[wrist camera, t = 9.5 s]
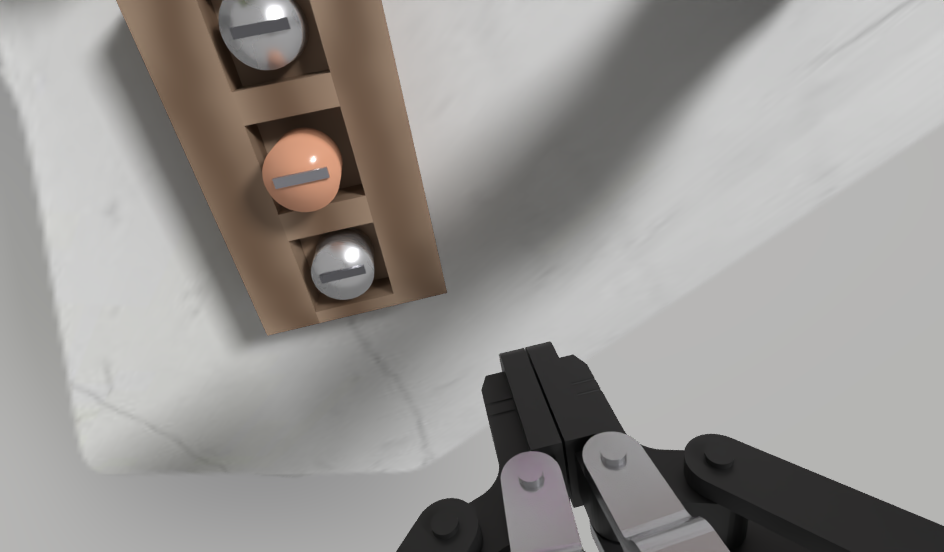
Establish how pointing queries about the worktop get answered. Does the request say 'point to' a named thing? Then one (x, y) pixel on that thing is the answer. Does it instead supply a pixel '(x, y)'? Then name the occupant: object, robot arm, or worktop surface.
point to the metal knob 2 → (343, 263)
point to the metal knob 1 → (264, 31)
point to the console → (267, 119)
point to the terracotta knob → (303, 170)
